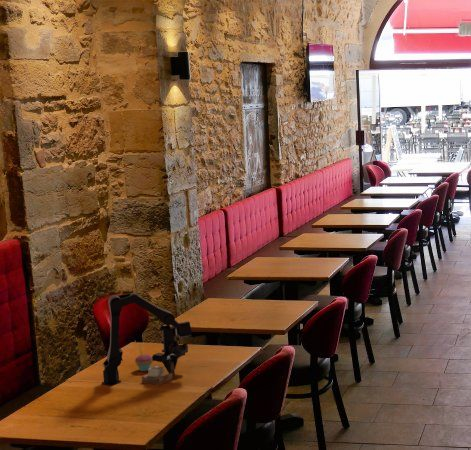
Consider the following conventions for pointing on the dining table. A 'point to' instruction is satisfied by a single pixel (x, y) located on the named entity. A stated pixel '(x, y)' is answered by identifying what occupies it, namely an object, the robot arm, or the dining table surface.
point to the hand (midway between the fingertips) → (171, 371)
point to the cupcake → (143, 361)
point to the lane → (157, 381)
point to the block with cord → (160, 371)
